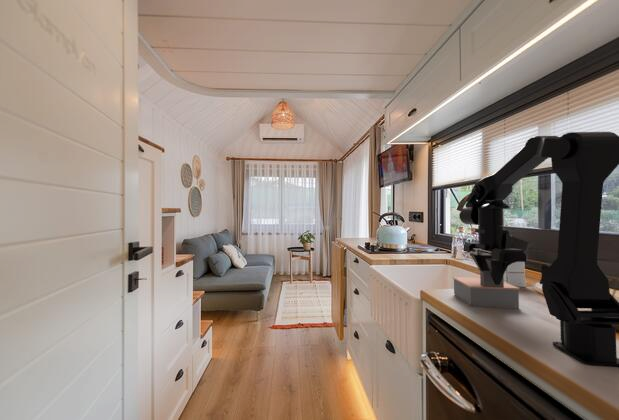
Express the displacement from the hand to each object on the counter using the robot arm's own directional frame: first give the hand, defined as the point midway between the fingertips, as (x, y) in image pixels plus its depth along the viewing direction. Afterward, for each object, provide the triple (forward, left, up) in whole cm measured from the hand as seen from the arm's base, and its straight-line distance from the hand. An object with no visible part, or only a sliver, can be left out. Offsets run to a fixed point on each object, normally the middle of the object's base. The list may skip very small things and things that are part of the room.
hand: (491, 282), depth 68 cm
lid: (+4, 0, -1) cm, 4 cm away
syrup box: (+24, -20, -7) cm, 32 cm away
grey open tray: (+4, 0, -6) cm, 8 cm away
